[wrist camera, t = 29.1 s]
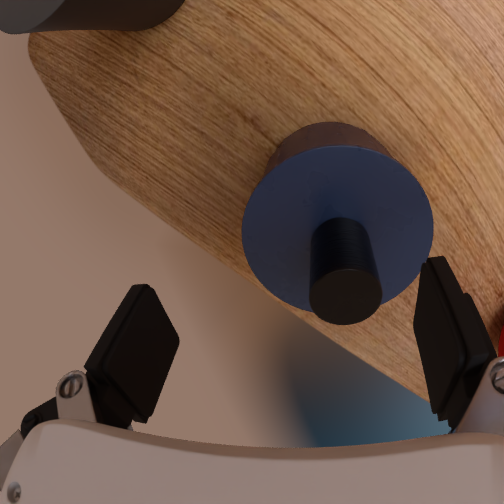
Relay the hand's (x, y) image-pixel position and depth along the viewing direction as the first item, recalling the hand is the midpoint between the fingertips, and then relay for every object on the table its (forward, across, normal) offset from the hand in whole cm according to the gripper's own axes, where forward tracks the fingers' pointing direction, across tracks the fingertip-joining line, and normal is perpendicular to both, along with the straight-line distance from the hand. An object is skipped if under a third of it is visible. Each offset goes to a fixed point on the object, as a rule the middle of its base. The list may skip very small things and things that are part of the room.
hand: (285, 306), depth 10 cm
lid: (+9, -2, +3) cm, 10 cm away
